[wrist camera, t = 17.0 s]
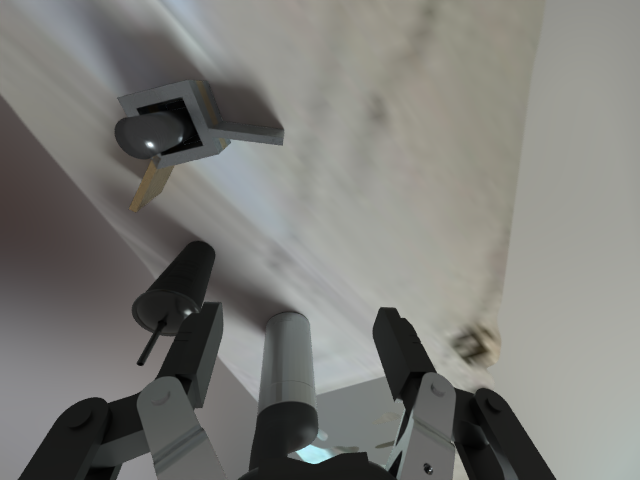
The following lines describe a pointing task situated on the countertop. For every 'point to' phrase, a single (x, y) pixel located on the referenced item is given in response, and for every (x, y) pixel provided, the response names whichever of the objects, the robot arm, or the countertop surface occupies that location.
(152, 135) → the hinge pin
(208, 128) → the hinge
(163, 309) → the drinking cup
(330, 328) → the countertop surface
